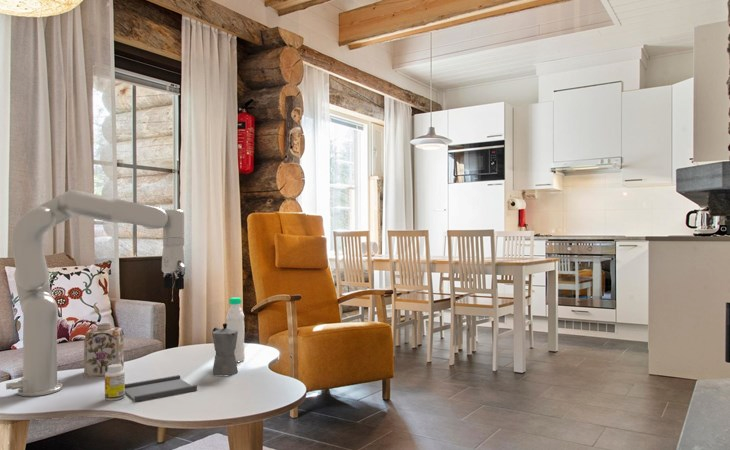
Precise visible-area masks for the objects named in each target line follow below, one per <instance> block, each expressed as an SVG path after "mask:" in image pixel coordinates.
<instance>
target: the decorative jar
mask: <svg viewBox="0 0 730 450" xmlns="http://www.w3.org/2000/svg"><path fill="white" fill-rule="evenodd" d="M96 325H97V326H96V327H94V328H91V329H89V330H87V331H86V332H85V336H84V339H83V343H84V346H83V347H84V353H83V362H84V363H83V370H84V371H83V376H84V378H98V377H105V373H106V372H108V370H107V369H108V366H109V365H112V364H121V365H122V370H123V369H124V366H125V363H124V361H125V341H124V340H125V336H124V335H125V332H124V330H123V328H122V327H118V326H117V327H116V326H114V327H113V326H112V323H109V322H108V323H107V322H105V323H104V322H103V323H98V324H96Z"/></svg>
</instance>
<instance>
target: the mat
mask: <svg viewBox="0 0 730 450" xmlns="http://www.w3.org/2000/svg"><path fill="white" fill-rule="evenodd" d="M195 391H198V385H196V384H193V385H191V384H190V383H188V382H186V381H185V380H184V379H182V378H181V375H179V374H178V375H172V376H165V377H159V378H155V379H148V380H142V381H135V382H131V383H129V382H128V383H125V395H127V396H128V397H129V398H130V399H132V400H133V401H134V402H135V403H137V402H143V401H148V400H153V399H154V400H155V399H158V398H165V397H168V396H173V395H179V394H185V393H190V392H195Z"/></svg>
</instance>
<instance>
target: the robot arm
mask: <svg viewBox="0 0 730 450" xmlns="http://www.w3.org/2000/svg"><path fill="white" fill-rule="evenodd" d="M74 216H76V217H77V216H78V217H83V218H87V219H91V220H97V221H102V222H107V223H115V224H131V225H136V226H142V227H143V228H144V229H148V230H158V229H162V247H163V248H162V255H161V272H163V288H164V289H169V288H173V285H174V290H176V291H177V290H178V291H179V290H184V289H185V274H186V265H185V252H184V250H185V249H184V247H185V212H184V210H183V209H172V208H171V209H165V210H164V209H162V208H160V207H157V206H151V205H148V204H143V203H138V202H134V201H133V202H132V201H128V200H124V199H119V198H115V197H110V196H106V195H105V196H104V195H102V194H101V195H100V194H95V193H91V192H87V191H83V190H77V189H70V190H67V191H65V192H63V193H61V194H59V195H58V196H56V197H54V198H52V199H50V200H48V201H45V202H44V203H42V204H39V205H37V206H35V207H33V208H31V209H30V210H28V211H27V212H25V213H24V214H23V215H22V216H21V217H19V219H18V220H17V222H16V223H15V225H14V227H13V229H12V233H11V248H12V249H11V250H12V255H13V261H14V264H15V265H14V266H15V271H14V281H15V288H16V291H17V295H18V300H19V306H20V309H21V312H22V313H23V314H22V315H23V317H22V318H23V322H22V345H23V347H22V350H23V352H22V353H23V356H22V358H23V360H22V362H23V363H22V364H23V365H22V366H23V376H22V377H20V379H21V380H17V381H16V382H8V383H7V382H6V383H5V389H6V391H7V390H17V395H19V396H21V397H38V396H44V395H50V394H54V393H57V392H60V391H62V389H63V383H61V382H58V319H59V307H58V303H57V301H56V300H55V298H54V297H53V296H52V290H51V286H50V283H49V282H50V281H49V280H50V270H49V269H48V264H47V259H46V255H45V250H44V243H43V242H44V241H43V239H44V236H45V234H46V233H48V232H49V231H50V230H52V229H53V228H54V227H56V226H57V225H60V224H62V223H64V222H66V221H67V220H69V219H71V218H72V217H74ZM173 273H174V276H175V278H174V277H173ZM173 278H174V280H173ZM173 281H174V284H173Z"/></svg>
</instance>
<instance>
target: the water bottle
mask: <svg viewBox="0 0 730 450" xmlns="http://www.w3.org/2000/svg"><path fill="white" fill-rule="evenodd" d="M228 302H229V306H230V308H228V312H227V314H226V316H225V319H226V324H227V328H228V329H234V330H237V331H238V335H237V342H236V349H235V350H234V352H235V358H236V363H239V362H238V361H242V362H243V361H244V360H245V359H246V358H245V347H246V346H245V314H244V311H243V309H242V308H241V304H242V298H241V297H231V298H229V299H228Z"/></svg>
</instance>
